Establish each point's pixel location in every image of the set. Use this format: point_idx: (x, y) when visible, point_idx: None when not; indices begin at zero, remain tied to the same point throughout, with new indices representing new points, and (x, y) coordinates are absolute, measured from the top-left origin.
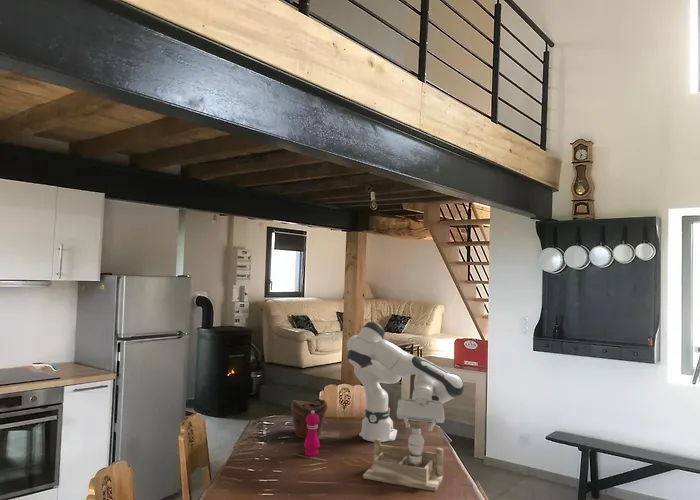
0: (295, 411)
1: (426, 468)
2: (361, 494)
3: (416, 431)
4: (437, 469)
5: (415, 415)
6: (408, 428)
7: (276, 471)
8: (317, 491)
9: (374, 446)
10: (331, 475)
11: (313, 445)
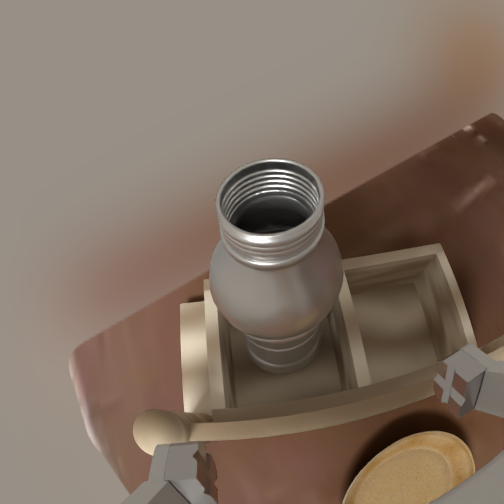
0: None
1: (205, 290)
2: (365, 182)
3: (250, 178)
4: (196, 413)
5: (485, 484)
6: (440, 378)
7: None
8: (437, 157)
9: None
10: (491, 235)
11: None
